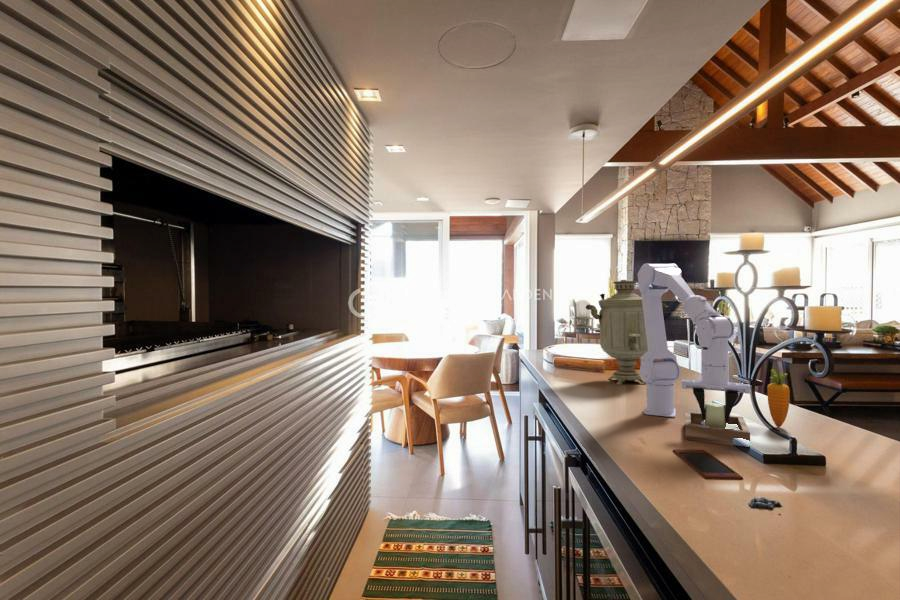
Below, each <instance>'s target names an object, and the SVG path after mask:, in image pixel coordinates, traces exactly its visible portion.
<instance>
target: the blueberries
mask: <svg viewBox="0 0 900 600" xmlns="http://www.w3.org/2000/svg"><path fill="white" fill-rule="evenodd" d="M747 504H748V507H749V508H751V509H760V510H761V509H762V510H770V511H773V510H774V509H776V508H783V505H782V504H781V502H780V501H778V500H773V499H771V498H766V497H764V496H762V497H756V496H755V497H753V498H752V499H751V501H750V502H748V503H747ZM772 514H773V513H771V515H772ZM779 515H782V514H781V513H779Z"/></svg>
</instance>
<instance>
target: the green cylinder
mask: <svg viewBox="0 0 900 600" xmlns="http://www.w3.org/2000/svg"><path fill="white" fill-rule="evenodd" d="M705 425H706V426H709V427H716V428H725V427H726V421H725V405H724V404H721V403H714V402H706V403H705Z"/></svg>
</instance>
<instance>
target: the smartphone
mask: <svg viewBox="0 0 900 600" xmlns="http://www.w3.org/2000/svg"><path fill="white" fill-rule="evenodd" d="M672 452H673V453H674V455H676V456H677V457H678V458H680V459H681V460H682V461H683V462H684V463H685V464H687V465H688V466H689V467H690V468H691V469H692V470H694V471H695V472H697V474H699V475H700V476H701V477H702V478H704V479H705V480H725V481H727V480H728V481H729V480H730V481H732V480H733V481H736V480H737V481H740V480H741V481H742V480H744V478H743V476H742V475H740V474H739V473H738V472H737V471H735V470H734V469H733V468H731V467H729V466H728V465H727V464H726V463H724V462H722V461H721V460H720V459H718V458H716V456H714V455H713V454H711V453H710V452H708V451H706V450H705V449H691V448H690V449H686V448H685V449H684V448H683V449H682V448H679V449H678V448H677V449H675V448H674V449H672Z"/></svg>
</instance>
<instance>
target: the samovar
mask: <svg viewBox="0 0 900 600" xmlns="http://www.w3.org/2000/svg"><path fill="white" fill-rule="evenodd" d="M637 282H638V280H626V281H625V280H623V281H622V280H620V281H619V280H617V281H613V282H612V283H613V284H615V290H616V291H617V292H616V293H614V294H613V295H611V297H607V298H606V297H605V295H606V294H605V293H600V294H599V297H601V299H600V300H598V305H599V307H600V310H599V313H598V309H597V307H596V306H595V305H592V304H587V305H585V309H586V310H590V315H591V316H592V317H593V319H595V320H598V322H599V344H600V347H601V349H602V352H604V353H606V354H607V355H608V356H609V357H611V358H614V359H616V363H617V364H616V365H618V366H619V369H616V370H615V372H613V373H612V375H611V376H610V377H608V378H607V380H608V381H609V380H612V379H616V381H617V382H616V385H618V386H622V385H623V383H624V382H625V381H639V382H640V383H641V384H643V385H645V386H647V383H646V382H644V380H643V378H642V377H641V374H640V372H639V371H638V370H636V369H634V367H635V366H636V365H637V360H638V359H641V357H642V356H643V355H644V354H645V353H646V352H647V351H648V345H647V337H646V329H645V321H644V313H643V305H642V297H641V296H639V295H638V294H636V293H634V292H633V291H634V290H635V284H636V283H637ZM605 298H606V299H605ZM666 307H667V304H666V303H665V302H662V309H663V308H666Z"/></svg>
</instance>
